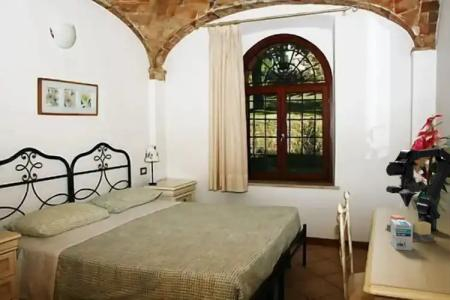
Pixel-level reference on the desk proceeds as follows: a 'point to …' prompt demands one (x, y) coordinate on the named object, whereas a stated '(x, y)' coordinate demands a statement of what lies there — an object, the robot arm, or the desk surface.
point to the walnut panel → (417, 236)
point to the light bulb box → (401, 234)
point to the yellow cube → (422, 228)
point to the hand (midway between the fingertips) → (406, 206)
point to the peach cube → (396, 217)
